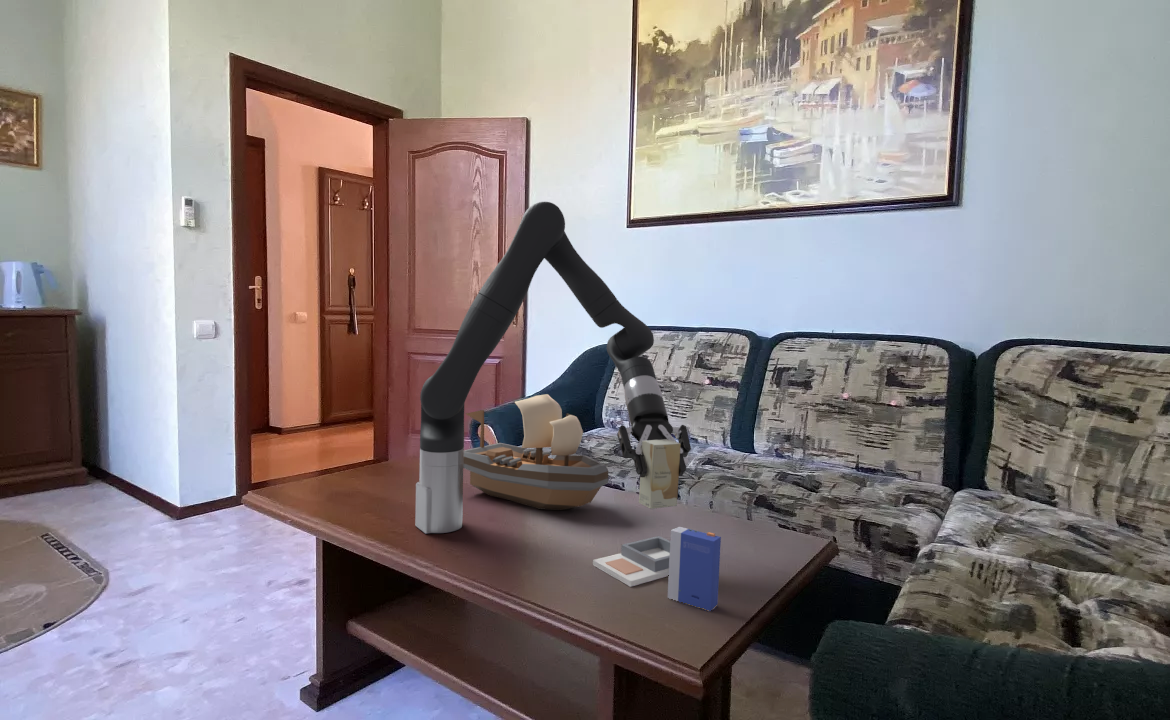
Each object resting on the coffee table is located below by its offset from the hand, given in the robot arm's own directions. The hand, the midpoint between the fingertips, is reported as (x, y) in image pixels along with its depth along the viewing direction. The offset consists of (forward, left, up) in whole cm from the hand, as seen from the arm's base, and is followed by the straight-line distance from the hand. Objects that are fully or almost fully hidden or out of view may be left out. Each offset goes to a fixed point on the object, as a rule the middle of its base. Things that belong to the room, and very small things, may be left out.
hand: (662, 474), depth 117 cm
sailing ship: (0, +50, -18) cm, 53 cm away
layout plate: (-2, +1, -18) cm, 18 cm away
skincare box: (+1, +1, -6) cm, 7 cm away
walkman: (-5, -14, -18) cm, 23 cm away
